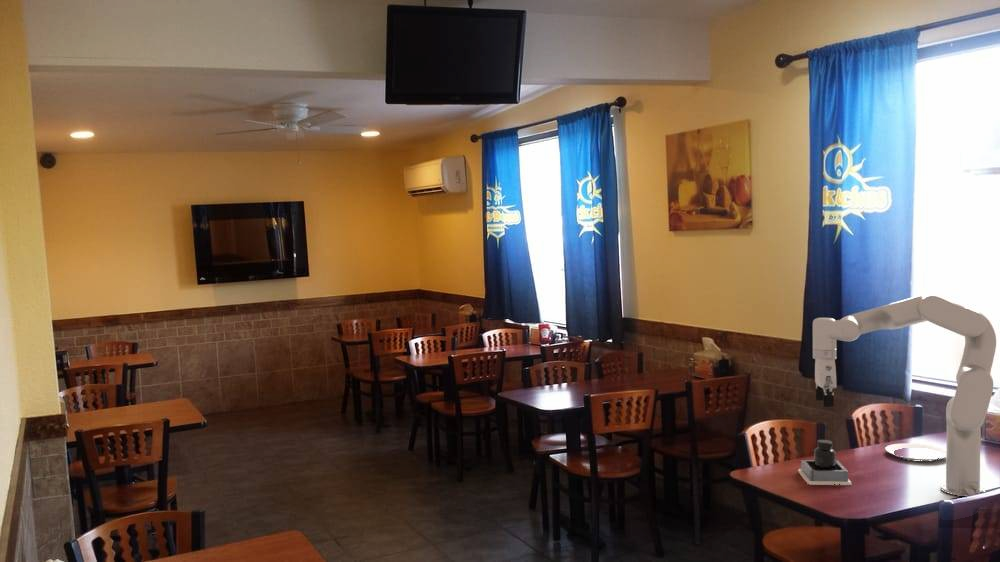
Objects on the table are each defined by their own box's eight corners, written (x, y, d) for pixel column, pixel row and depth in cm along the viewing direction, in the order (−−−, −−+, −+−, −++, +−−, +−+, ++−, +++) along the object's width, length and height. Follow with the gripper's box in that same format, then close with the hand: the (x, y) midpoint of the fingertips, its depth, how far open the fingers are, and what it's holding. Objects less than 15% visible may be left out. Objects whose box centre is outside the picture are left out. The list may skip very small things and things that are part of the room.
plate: (884, 461, 297) (884, 455, 297) (886, 446, 315) (886, 441, 315) (948, 468, 287) (948, 461, 287) (947, 452, 306) (947, 446, 305)
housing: (851, 485, 271) (851, 472, 271) (808, 484, 273) (808, 471, 273) (839, 472, 285) (839, 459, 285) (798, 471, 287) (798, 459, 286)
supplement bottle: (838, 478, 275) (838, 443, 275) (818, 478, 275) (818, 444, 275) (830, 472, 282) (830, 438, 281) (811, 472, 282) (811, 438, 281)
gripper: (843, 358, 267) (843, 409, 268) (829, 350, 284) (829, 398, 285) (819, 358, 268) (819, 409, 269) (806, 350, 285) (807, 398, 286)
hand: (824, 403), depth 277 cm, fingers open, 9 cm apart
